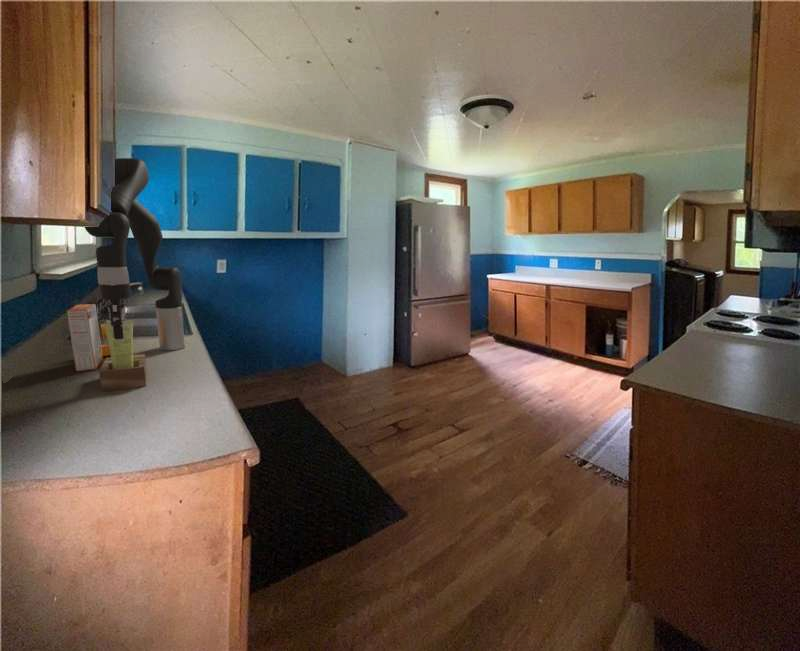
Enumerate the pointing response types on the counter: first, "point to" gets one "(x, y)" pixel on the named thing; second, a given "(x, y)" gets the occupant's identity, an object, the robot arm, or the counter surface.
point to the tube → (121, 345)
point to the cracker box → (85, 336)
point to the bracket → (105, 347)
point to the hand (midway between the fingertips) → (120, 336)
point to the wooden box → (123, 374)
